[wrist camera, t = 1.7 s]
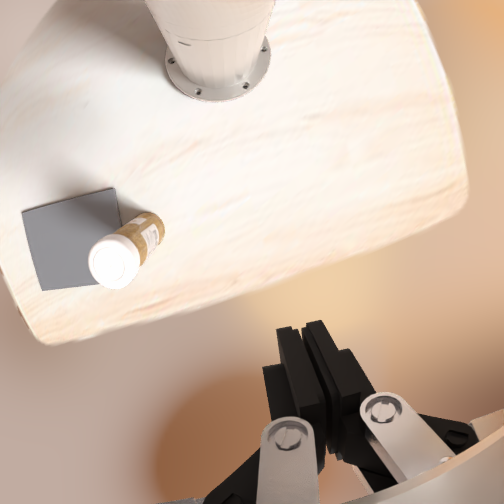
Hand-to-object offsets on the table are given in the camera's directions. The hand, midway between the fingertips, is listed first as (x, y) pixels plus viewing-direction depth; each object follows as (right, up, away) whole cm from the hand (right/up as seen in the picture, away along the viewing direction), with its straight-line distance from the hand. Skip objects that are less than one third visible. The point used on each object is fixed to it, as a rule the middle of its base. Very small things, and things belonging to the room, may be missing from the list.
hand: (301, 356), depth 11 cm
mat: (-26, +5, +25) cm, 36 cm away
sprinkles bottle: (-15, +7, +25) cm, 30 cm away
